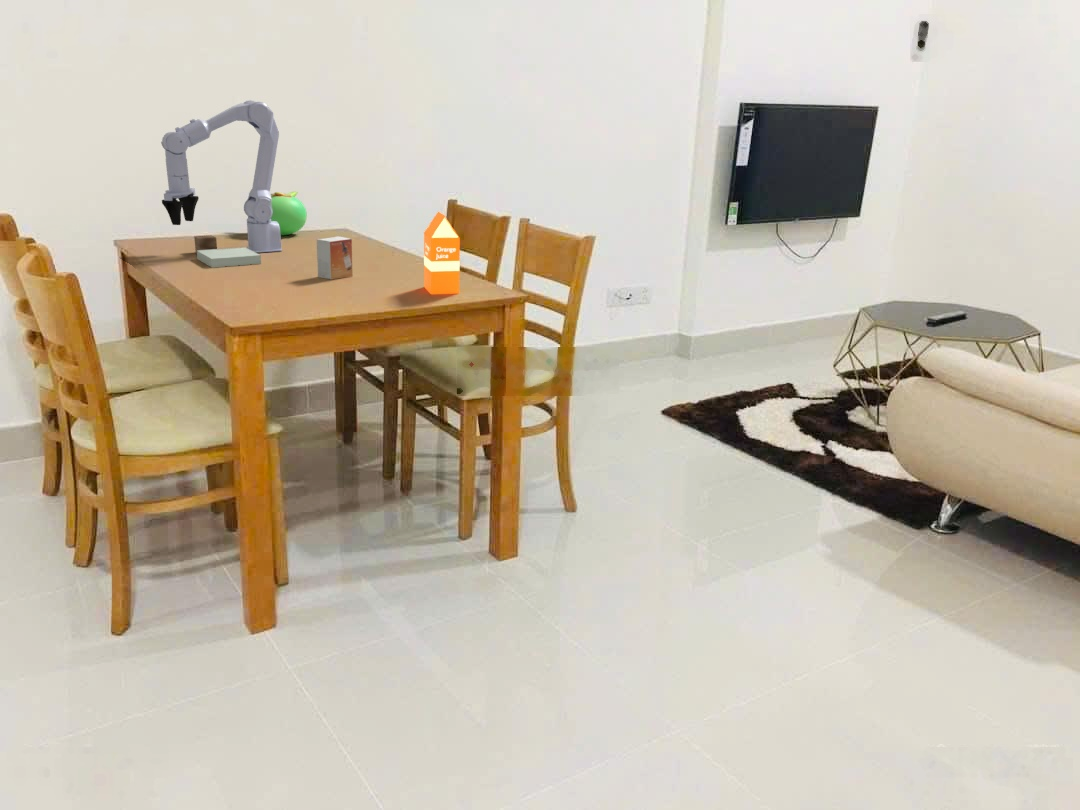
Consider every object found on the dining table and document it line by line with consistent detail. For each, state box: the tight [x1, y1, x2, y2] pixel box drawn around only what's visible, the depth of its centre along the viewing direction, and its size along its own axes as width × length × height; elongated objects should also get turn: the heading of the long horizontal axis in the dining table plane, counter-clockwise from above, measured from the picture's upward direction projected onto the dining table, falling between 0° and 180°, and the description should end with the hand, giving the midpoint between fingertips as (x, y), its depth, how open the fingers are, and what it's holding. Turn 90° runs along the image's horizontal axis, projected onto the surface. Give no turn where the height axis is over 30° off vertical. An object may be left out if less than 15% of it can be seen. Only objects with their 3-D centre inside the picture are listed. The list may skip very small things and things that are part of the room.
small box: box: [316, 235, 354, 281], centre depth 242 cm, size 8×6×10 cm
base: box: [196, 246, 262, 268], centre depth 256 cm, size 14×14×2 cm
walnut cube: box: [193, 234, 218, 254], centre depth 266 cm, size 5×5×5 cm
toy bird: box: [270, 191, 308, 236], centre depth 301 cm, size 18×17×15 cm
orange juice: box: [423, 211, 461, 295], centre depth 230 cm, size 8×9×20 cm
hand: (182, 222), depth 259 cm, fingers open, 7 cm apart
